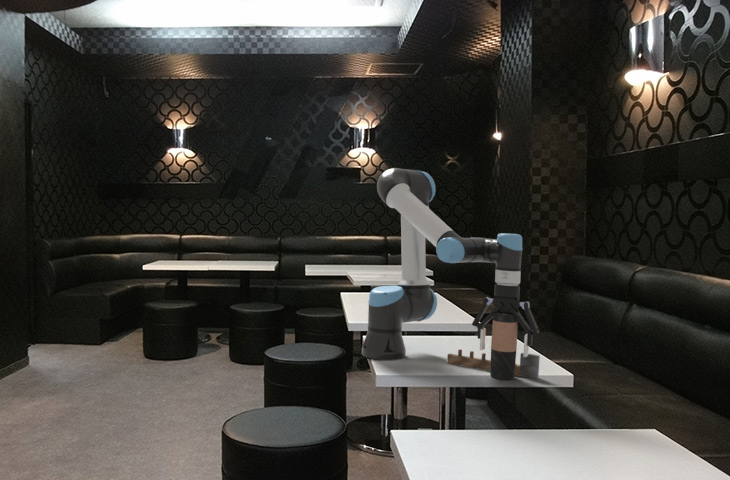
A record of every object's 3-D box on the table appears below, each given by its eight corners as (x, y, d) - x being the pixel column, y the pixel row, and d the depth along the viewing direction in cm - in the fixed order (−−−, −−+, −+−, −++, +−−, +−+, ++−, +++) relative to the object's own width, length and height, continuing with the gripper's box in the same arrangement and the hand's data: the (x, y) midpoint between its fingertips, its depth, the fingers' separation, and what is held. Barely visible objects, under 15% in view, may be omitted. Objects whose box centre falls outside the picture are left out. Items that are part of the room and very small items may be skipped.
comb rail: (446, 363, 199) (448, 342, 199) (449, 362, 201) (450, 341, 200) (537, 378, 185) (538, 356, 184) (538, 377, 186) (539, 355, 186)
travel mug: (515, 381, 181) (519, 315, 180) (489, 379, 182) (493, 313, 181) (514, 374, 188) (517, 311, 187) (489, 372, 190) (492, 309, 189)
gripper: (464, 281, 187) (460, 348, 188) (546, 289, 174) (542, 361, 175) (472, 279, 193) (468, 344, 194) (551, 287, 181) (547, 356, 182)
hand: (503, 352), depth 185 cm, fingers open, 13 cm apart
